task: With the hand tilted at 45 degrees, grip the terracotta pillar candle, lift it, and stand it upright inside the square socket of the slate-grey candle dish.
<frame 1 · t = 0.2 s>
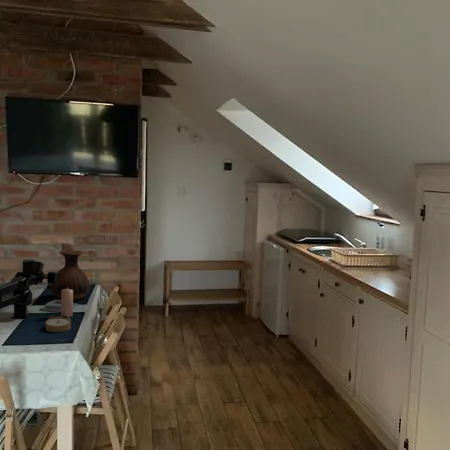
hand: (48, 274, 272), 17 cm above the table, tool horizontal, fingers open, 9 cm apart
jug: (70, 297, 289), on the table
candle: (66, 315, 254), on the table
alarm clock: (58, 328, 236), on the table
dish: (59, 308, 267), on the table
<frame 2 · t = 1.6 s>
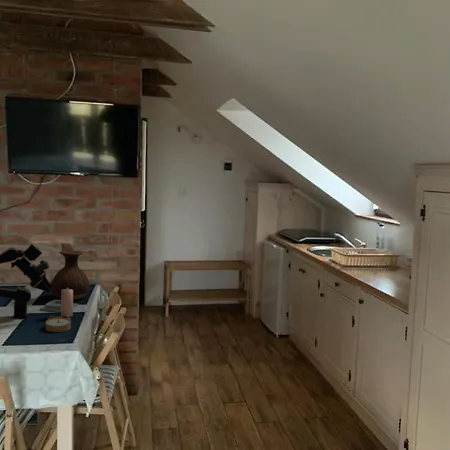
hand: (50, 289, 251), 14 cm above the table, tool tilted 45°, fingers open, 9 cm apart
nothing on the table moved.
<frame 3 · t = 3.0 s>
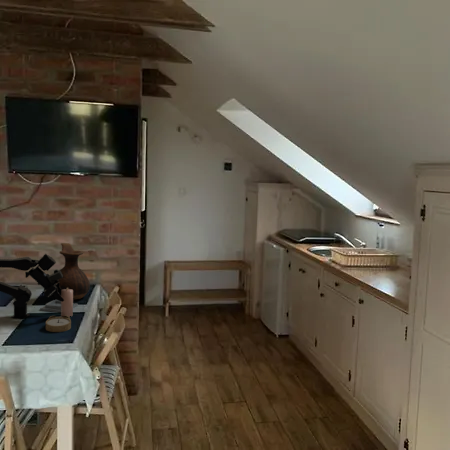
hand: (64, 298, 253), 9 cm above the table, tool tilted 45°, fingers open, 9 cm apart
nothing on the table moved.
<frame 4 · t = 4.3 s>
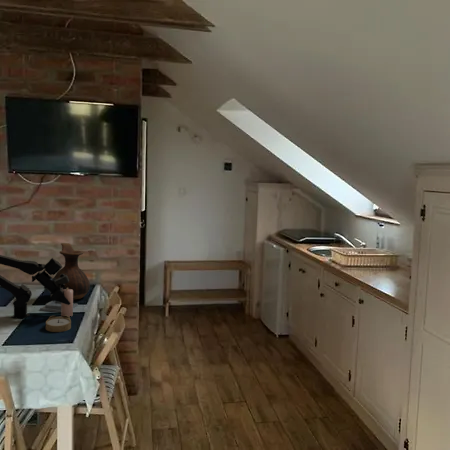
hand: (70, 302, 254), 7 cm above the table, tool tilted 45°, fingers closed on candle, 6 cm apart
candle: (66, 315, 254), on the table, touching gripper
everything else where it was.
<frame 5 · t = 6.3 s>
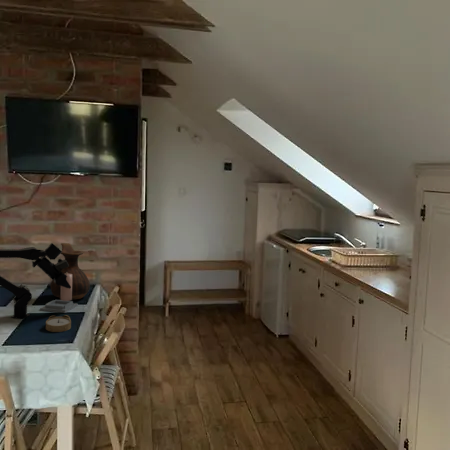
hand: (69, 286, 259), 13 cm above the table, tool tilted 45°, fingers closed on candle, 6 cm apart
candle: (66, 299, 259), point 7 cm above the table, touching gripper
everything else where it was.
when the fingers open (9 cm above the table, at t = 8.5 s): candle stays where it is, resting on dish.
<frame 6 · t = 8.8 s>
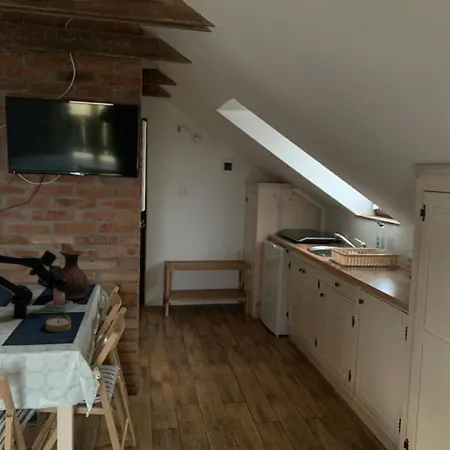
hand: (61, 291, 267), 9 cm above the table, tool tilted 45°, fingers open, 9 cm apart
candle: (59, 305, 266), point 1 cm above the table, touching dish
everything else where it was.
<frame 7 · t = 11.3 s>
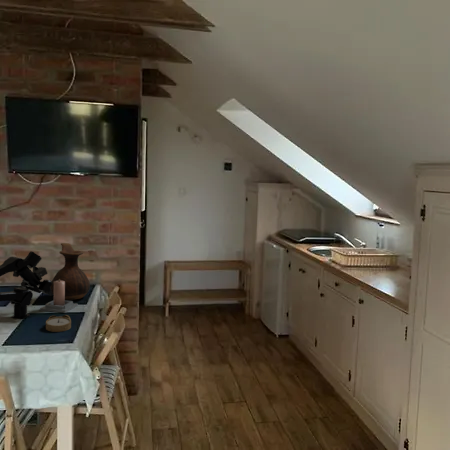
hand: (46, 293, 260), 9 cm above the table, tool tilted 45°, fingers open, 9 cm apart
nothing on the table moved.
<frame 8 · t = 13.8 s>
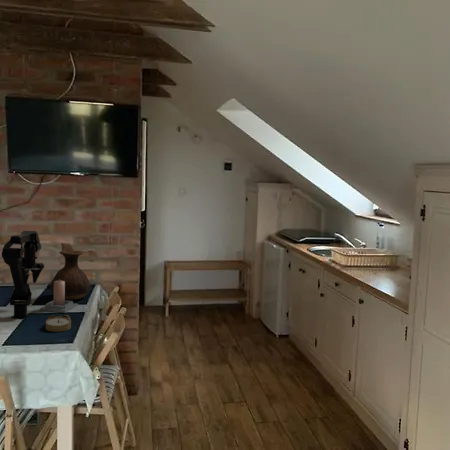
hand: (29, 284, 261), 13 cm above the table, tool pointing down, fingers open, 9 cm apart
nothing on the table moved.
at the end: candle 0.1 cm off-centre on the dish, point 1.2 cm above the dish's base; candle tilted 0°; the gripper is holding nothing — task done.
